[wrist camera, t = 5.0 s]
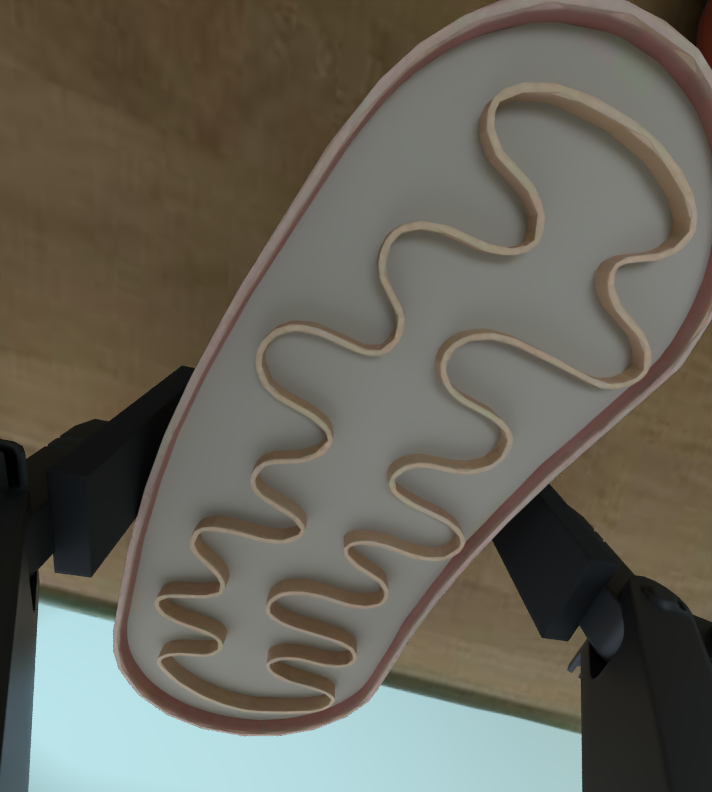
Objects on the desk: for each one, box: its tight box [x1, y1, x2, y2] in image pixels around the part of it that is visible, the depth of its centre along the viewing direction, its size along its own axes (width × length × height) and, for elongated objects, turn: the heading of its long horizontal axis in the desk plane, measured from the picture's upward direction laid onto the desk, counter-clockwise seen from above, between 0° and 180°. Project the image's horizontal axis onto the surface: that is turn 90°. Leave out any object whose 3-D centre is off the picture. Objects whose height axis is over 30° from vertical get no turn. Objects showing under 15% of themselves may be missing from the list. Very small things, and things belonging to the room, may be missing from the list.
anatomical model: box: [113, 0, 712, 736], centre depth 12 cm, size 23×10×5 cm, turn 151°
